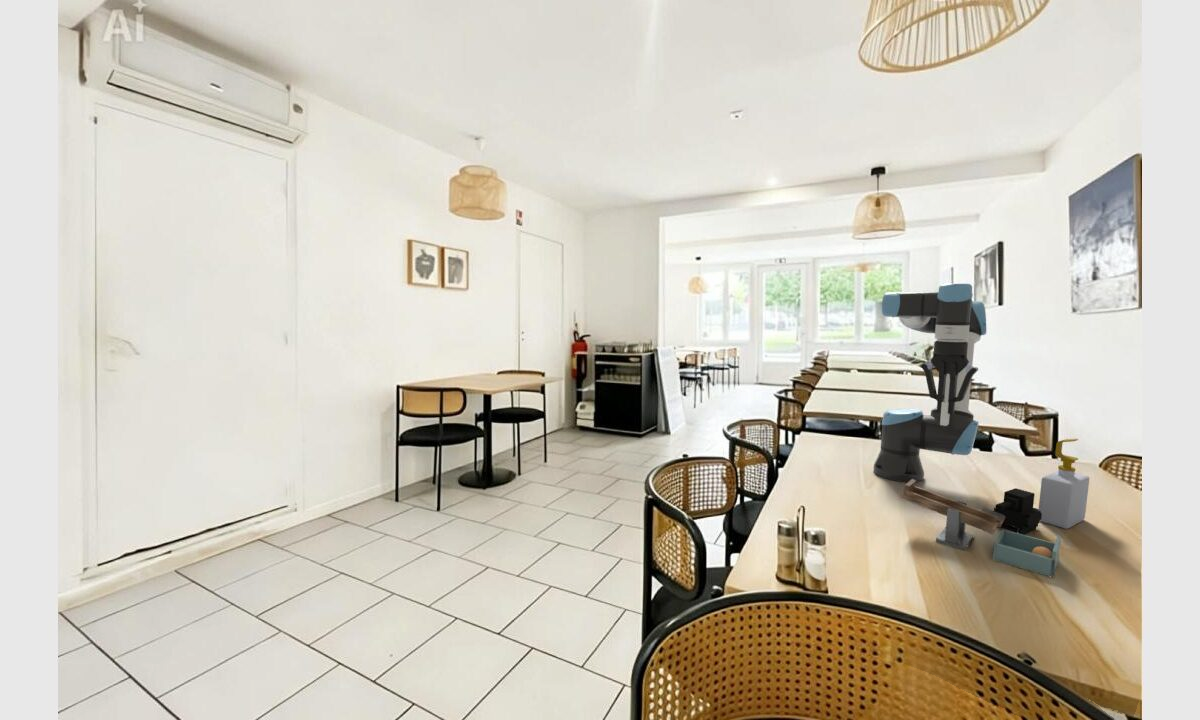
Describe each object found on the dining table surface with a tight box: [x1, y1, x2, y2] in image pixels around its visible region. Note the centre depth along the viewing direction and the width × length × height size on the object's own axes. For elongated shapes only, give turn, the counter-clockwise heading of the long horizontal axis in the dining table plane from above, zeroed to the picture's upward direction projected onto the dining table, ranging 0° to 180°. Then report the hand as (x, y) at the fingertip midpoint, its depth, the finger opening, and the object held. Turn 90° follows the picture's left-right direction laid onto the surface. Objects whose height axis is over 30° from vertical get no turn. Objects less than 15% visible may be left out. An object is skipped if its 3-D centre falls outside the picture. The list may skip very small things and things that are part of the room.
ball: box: [1032, 547, 1052, 559], centre depth 113 cm, size 4×4×4 cm
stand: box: [935, 499, 975, 552], centre depth 125 cm, size 6×10×9 cm, turn 133°
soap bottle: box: [1038, 438, 1090, 529], centre depth 134 cm, size 12×7×23 cm, turn 119°
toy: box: [993, 488, 1042, 535], centre depth 130 cm, size 8×14×10 cm, turn 117°
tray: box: [992, 528, 1062, 578], centre depth 115 cm, size 11×11×6 cm
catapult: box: [900, 479, 1005, 535], centre depth 127 cm, size 20×12×4 cm, turn 44°
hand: (944, 424), depth 137 cm, fingers closed
